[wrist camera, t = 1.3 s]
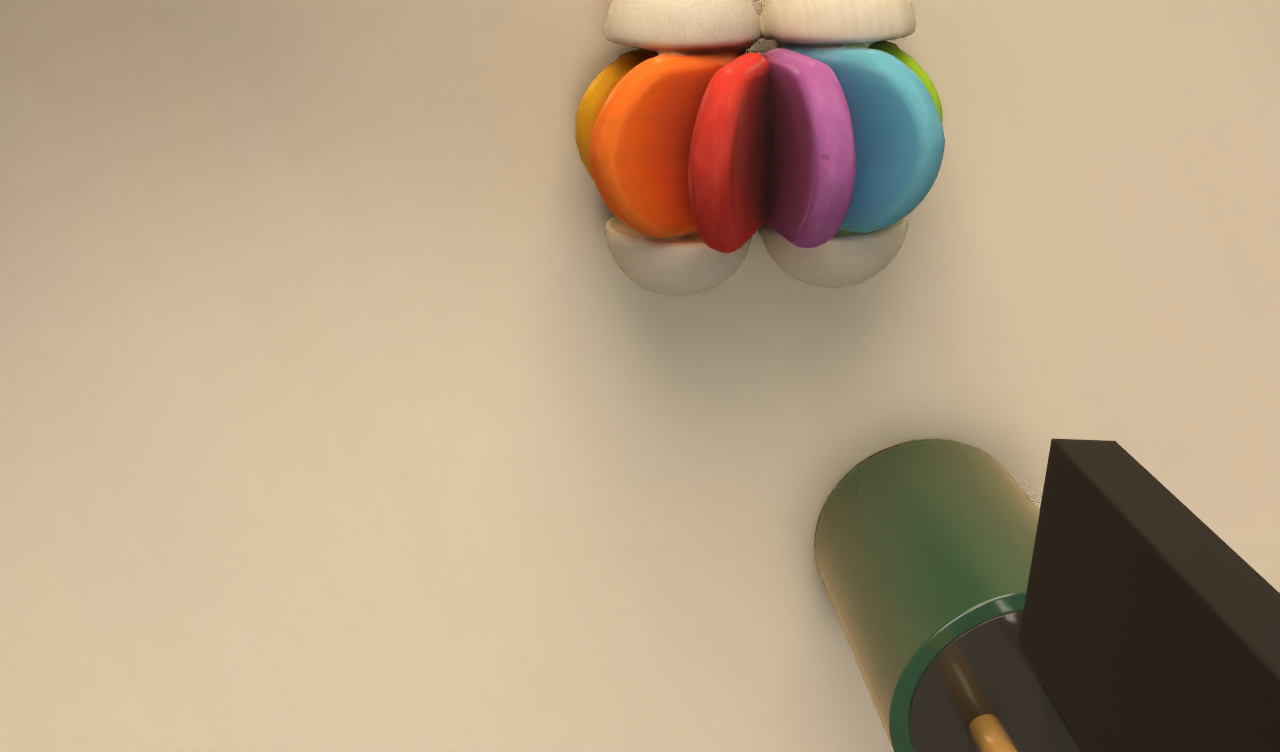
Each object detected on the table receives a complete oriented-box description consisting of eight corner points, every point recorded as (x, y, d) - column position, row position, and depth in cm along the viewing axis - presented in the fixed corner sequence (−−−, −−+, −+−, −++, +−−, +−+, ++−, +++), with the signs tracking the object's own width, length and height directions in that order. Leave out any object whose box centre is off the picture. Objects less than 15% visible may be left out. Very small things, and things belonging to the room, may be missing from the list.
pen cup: (790, 611, 40) (945, 1048, 25) (847, 422, 37) (1059, 777, 22) (985, 640, 41) (1249, 1076, 26) (1053, 458, 38) (1390, 821, 23)
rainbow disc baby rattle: (566, -37, 32) (574, -21, 25) (924, -46, 32) (1026, -33, 26) (579, 270, 35) (589, 358, 28) (905, 256, 36) (991, 338, 29)
